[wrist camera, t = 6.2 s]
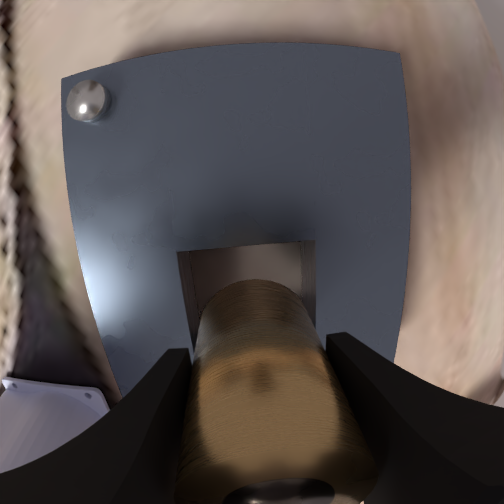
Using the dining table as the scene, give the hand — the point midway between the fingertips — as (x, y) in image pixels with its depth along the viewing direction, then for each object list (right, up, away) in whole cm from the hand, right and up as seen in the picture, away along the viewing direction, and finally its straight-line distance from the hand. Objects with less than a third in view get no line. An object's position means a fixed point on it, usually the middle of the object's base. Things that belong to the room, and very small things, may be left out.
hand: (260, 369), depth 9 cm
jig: (-1, +4, +6) cm, 8 cm away
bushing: (0, +1, +2) cm, 2 cm away
